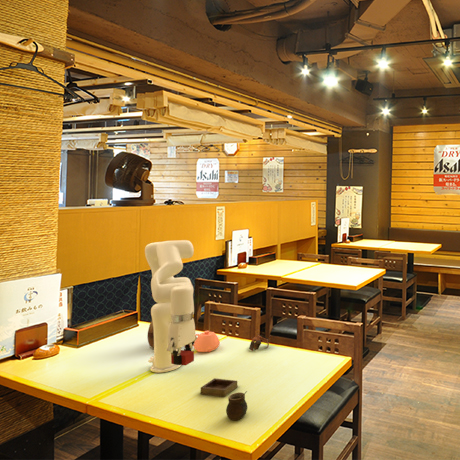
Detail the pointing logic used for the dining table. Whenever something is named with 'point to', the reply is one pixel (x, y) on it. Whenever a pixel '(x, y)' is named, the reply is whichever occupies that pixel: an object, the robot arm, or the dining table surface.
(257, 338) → the pottery mug
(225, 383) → the brown shallow rectangular box
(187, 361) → the red block
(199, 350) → the sugar bowl
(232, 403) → the mate gourd
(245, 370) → the dining table surface
